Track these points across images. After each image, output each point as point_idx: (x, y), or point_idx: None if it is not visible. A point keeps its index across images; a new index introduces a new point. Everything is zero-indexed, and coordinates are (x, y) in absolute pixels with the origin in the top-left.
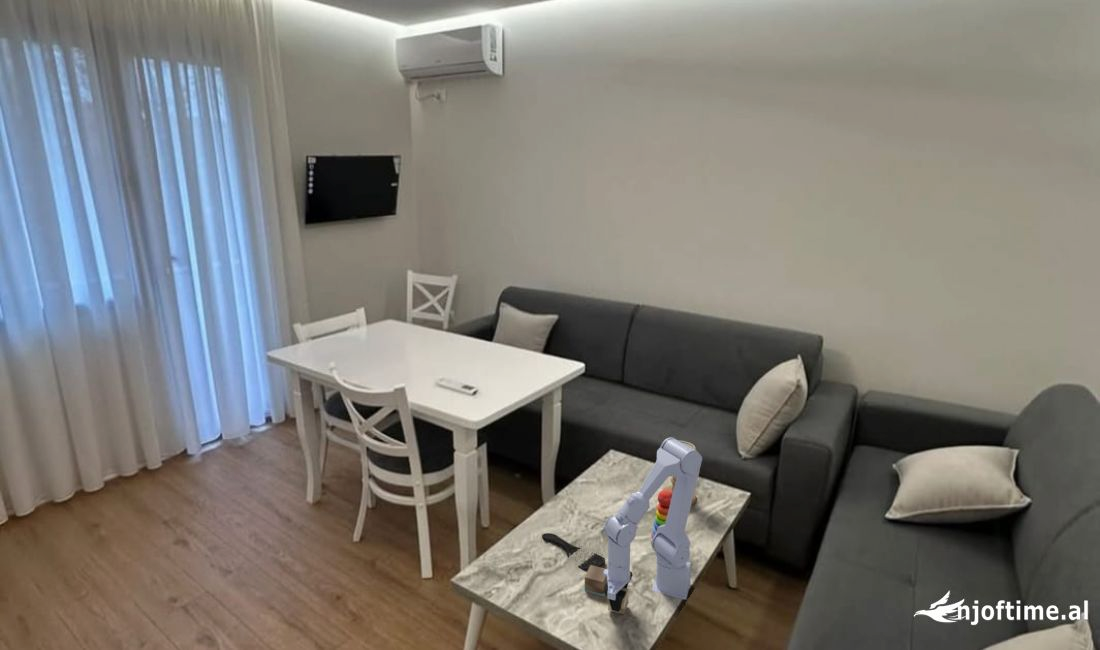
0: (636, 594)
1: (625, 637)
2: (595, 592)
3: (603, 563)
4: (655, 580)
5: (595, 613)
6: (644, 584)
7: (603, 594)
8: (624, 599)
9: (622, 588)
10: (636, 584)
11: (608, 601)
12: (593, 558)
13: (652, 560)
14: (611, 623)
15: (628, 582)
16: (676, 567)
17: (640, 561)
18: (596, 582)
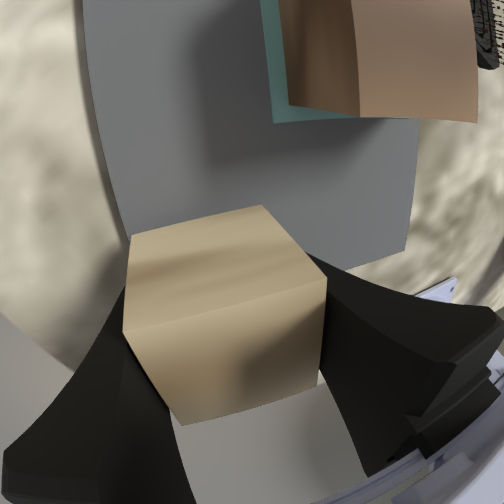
0: (358, 269)
1: (73, 358)
2: (279, 46)
3: (484, 63)
4: (429, 294)
5: (89, 140)
6: (414, 265)
7: (287, 109)
8: (193, 422)
9: (310, 359)
10: (411, 238)
11: (126, 290)
12: (478, 10)
13: (492, 230)
14: (86, 273)
15: (349, 431)
16: (430, 464)
17: (492, 198)
18: (337, 40)
